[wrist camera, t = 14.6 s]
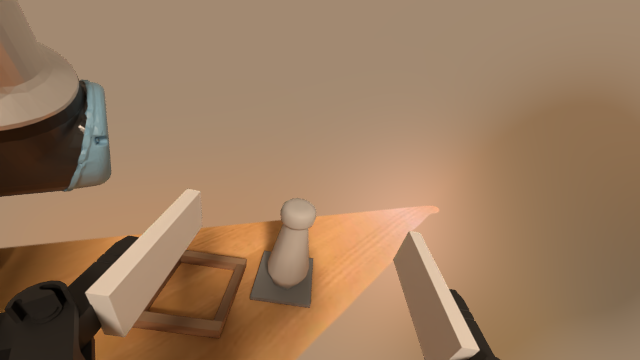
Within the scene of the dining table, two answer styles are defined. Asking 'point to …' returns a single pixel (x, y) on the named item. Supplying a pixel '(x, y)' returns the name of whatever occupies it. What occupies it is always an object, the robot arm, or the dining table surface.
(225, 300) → the walnut collar
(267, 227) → the dining table surface
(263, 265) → the charcoal coaster
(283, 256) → the salt shaker
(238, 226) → the dining table surface
